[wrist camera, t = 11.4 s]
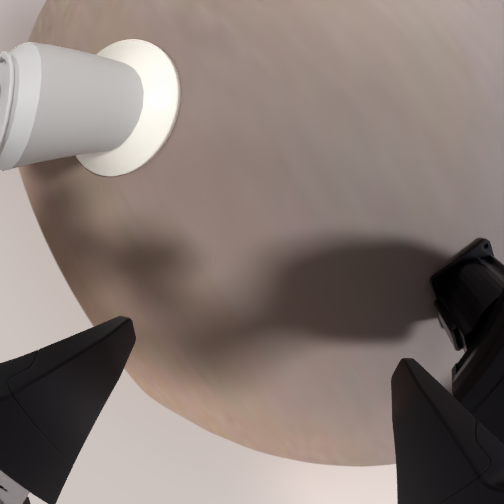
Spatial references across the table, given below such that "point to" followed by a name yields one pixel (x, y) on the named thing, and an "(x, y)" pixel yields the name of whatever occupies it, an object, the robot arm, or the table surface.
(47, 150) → the can
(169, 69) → the saucer
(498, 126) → the table surface
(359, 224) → the table surface
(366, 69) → the table surface
